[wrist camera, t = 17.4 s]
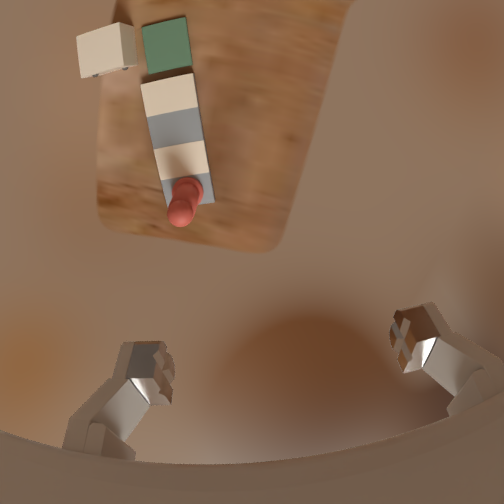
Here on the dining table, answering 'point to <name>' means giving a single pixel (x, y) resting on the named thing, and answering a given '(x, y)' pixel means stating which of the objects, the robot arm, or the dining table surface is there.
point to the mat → (167, 45)
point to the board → (177, 133)
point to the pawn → (184, 201)
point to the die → (107, 50)
